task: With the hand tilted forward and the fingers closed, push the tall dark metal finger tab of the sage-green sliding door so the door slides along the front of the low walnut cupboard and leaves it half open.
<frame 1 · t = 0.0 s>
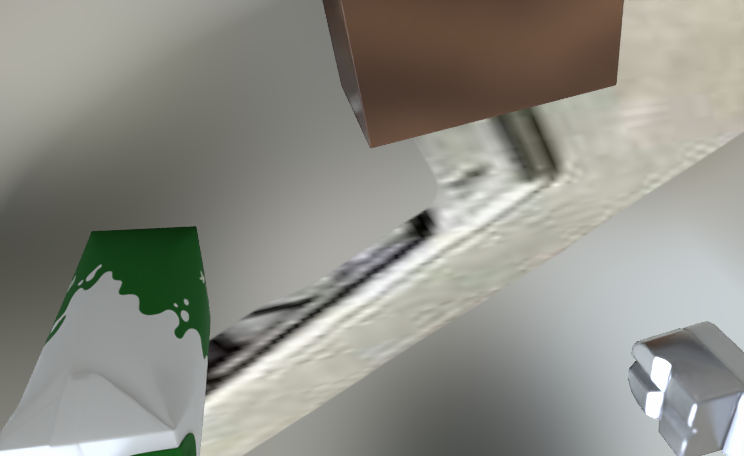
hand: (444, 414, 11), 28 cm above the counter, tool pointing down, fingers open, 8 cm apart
milk carton: (151, 264, 40), on the counter
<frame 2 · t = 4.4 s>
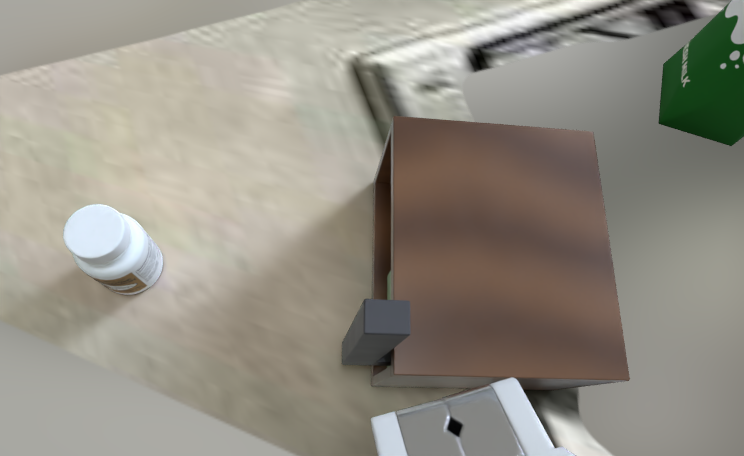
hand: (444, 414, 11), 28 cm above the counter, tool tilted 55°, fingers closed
cupboard: (468, 281, 41), on the counter
sliding door: (382, 298, 31), point 9 cm above the counter, slide at 0.0 cm
pill bottle: (133, 266, 39), on the counter
milk carton: (695, 106, 50), on the counter
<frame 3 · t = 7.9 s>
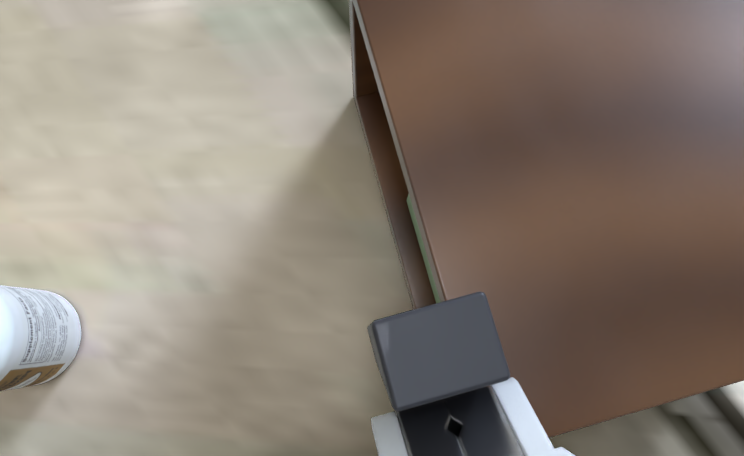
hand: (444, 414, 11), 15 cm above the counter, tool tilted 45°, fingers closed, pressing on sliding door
cupboard: (538, 204, 27), on the counter
sliding door: (411, 255, 17), point 9 cm above the counter, slide at 1.9 cm, touching gripper
pill bottle: (40, 337, 25), on the counter
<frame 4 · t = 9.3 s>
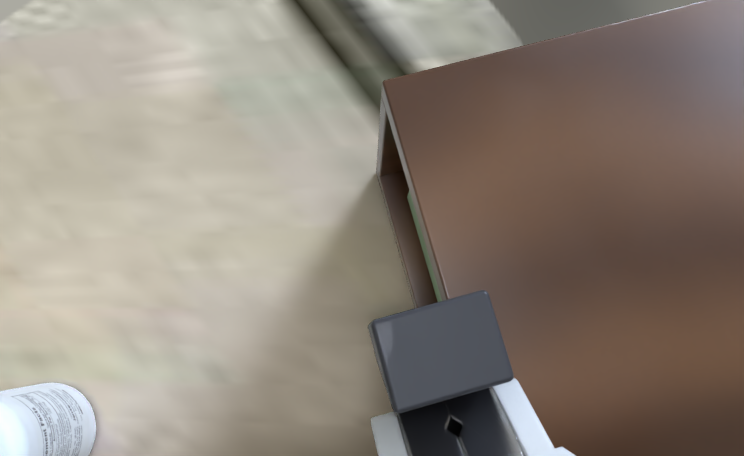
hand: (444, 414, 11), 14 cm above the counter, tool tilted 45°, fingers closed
cupboard: (570, 286, 26), on the counter
sliding door: (412, 252, 17), point 9 cm above the counter, slide at 6.3 cm
pill bottle: (53, 431, 24), on the counter
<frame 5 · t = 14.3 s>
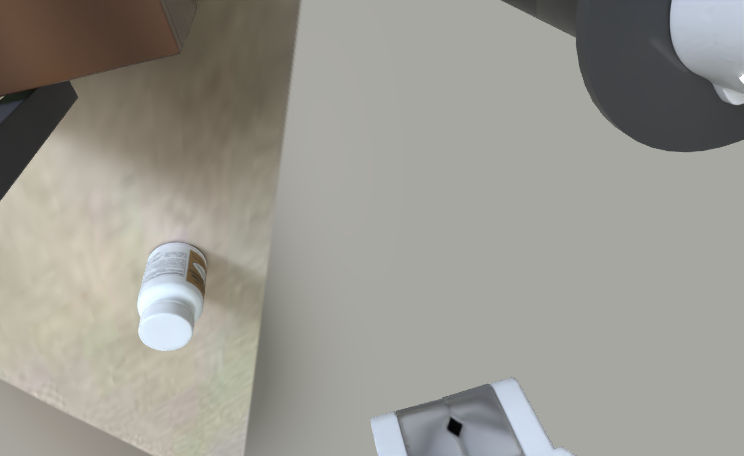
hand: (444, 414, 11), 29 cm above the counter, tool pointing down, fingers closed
pill bottle: (178, 262, 42), on the counter
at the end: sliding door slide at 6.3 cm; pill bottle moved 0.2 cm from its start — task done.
